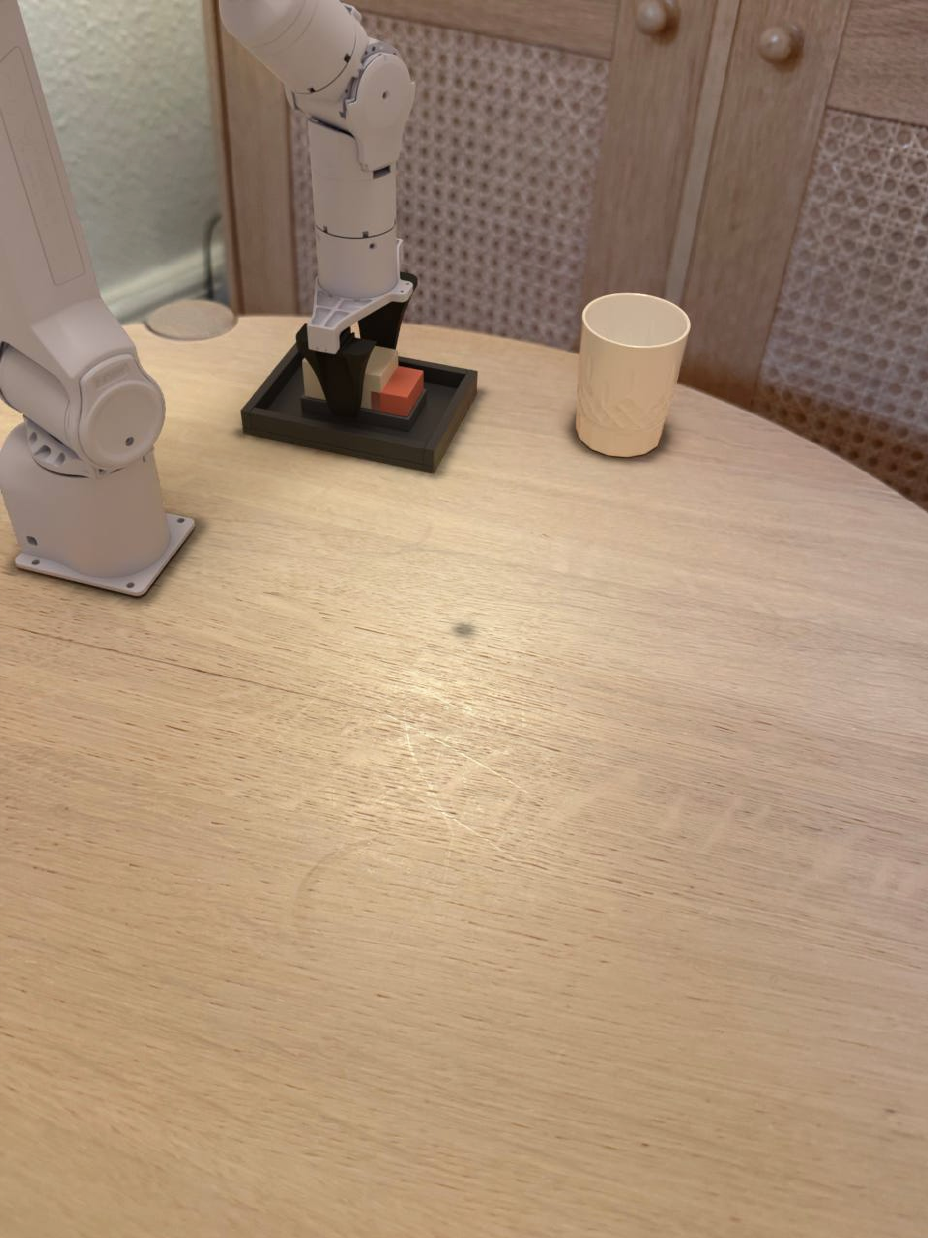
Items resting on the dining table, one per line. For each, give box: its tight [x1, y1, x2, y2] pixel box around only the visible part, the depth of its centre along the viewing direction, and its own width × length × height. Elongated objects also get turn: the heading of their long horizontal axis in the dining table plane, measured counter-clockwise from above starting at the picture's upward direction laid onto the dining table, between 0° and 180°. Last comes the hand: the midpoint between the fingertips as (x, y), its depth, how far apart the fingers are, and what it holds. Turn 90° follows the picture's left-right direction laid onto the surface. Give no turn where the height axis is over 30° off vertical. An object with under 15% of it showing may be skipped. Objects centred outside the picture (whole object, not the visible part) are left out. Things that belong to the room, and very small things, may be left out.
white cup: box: [575, 292, 692, 458], centre depth 82 cm, size 8×8×10 cm
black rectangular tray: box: [240, 341, 479, 474], centre depth 86 cm, size 16×12×2 cm
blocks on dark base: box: [300, 346, 427, 432], centre depth 85 cm, size 9×4×4 cm, turn 73°
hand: (362, 388), depth 85 cm, fingers open, 7 cm apart
